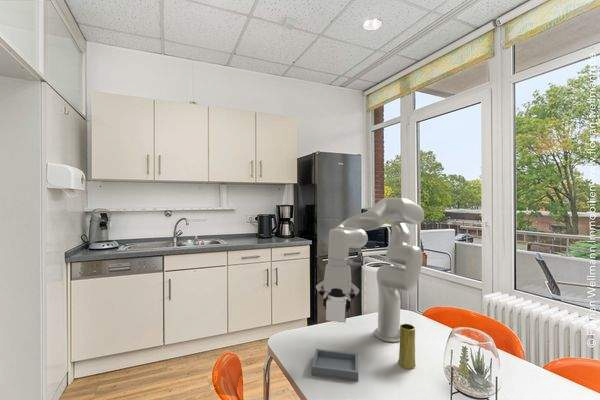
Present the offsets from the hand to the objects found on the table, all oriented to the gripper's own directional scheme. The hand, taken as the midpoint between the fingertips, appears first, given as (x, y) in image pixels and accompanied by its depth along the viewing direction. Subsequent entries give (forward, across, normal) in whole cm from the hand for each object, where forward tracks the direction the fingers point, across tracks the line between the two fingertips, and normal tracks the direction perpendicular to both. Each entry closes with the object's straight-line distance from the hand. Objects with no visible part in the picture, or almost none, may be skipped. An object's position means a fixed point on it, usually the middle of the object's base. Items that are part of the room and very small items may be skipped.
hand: (336, 309), depth 108 cm
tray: (+20, 0, +3) cm, 21 cm away
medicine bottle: (+4, 0, 0) cm, 4 cm away
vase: (+20, -26, -6) cm, 34 cm away
